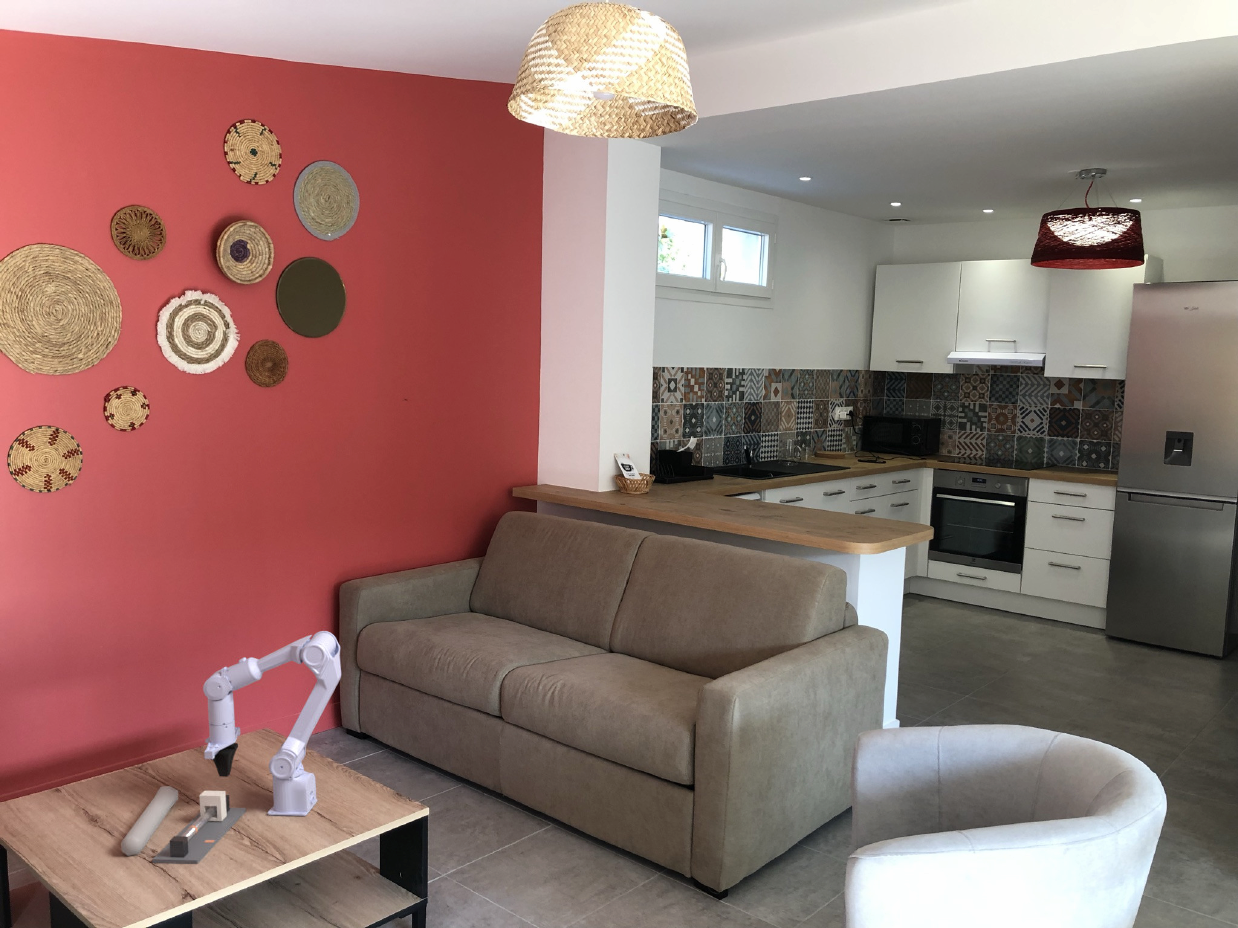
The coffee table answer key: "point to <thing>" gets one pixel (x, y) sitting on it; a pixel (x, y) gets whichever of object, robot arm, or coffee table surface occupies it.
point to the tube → (149, 820)
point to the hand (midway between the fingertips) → (224, 775)
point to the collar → (214, 804)
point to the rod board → (198, 836)
